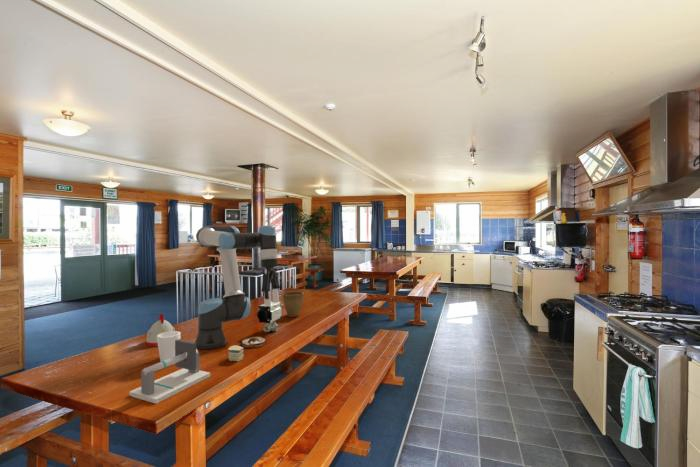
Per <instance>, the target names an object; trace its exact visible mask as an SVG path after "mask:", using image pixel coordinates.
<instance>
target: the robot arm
mask: <svg viewBox="0 0 700 467" xmlns="http://www.w3.org/2000/svg"><path fill="white" fill-rule="evenodd" d="M195 238H196V241H197V242H198V243H199V244H200V245H202V246H204V247H205V246H206V247H215V248H216V251H217V252H219V256H220V262H221V270H222V271H221V272H222V279H223V285H224V286H223V287H224V295H223V296H222V297H215V298H208V299H205V300H203V301H201V302H200V303H199V304H198V309H197V310H198V311H197V316H198V317H197V320H198V321H197V322H198V323H197V326H198V328H197V329H198V331H197V334H196V338H195V341H194V342H196V349H197V350H214V349H217V348H220V347H223V346H224V345H226V343H227V341H226V340H227V338H226V336H225V333H224V330H223V323H228V322H233V321H241V320H242V319H247V317H248V316H249V314H250V312H251V307H252V306H251V300H250V298H249V297H248V296H246V294H245V292H243V291H242V286H241V278H240V272H239V265H238V264H239V263H238V258H237V256H238V255H237V252H236V251H237V250H238V249H253V250H254V249H255V250H256V249H259V250H260V259H261V260H260V263H261V268H264V269H263V270H262V283H261V284H262V285H261V292H262V293H263V300H264V301H263V302H264V303H263V304H265V307H266V306H271V301H273V303H276V302H280V298H279V289H280V288H281V287H280V283H279V279H278V278H279V277H278V272H277V268H275V267H279V265H278V264H279V263H278V253H279V250H277V233H276V226H274V225H261V226H260V227H259V228H258V232H240V230H239V228H237V227H236V226H234V225H205V226H203V227H202V226H201V228H200V229H198V230H197V232H196V234H195ZM271 287H272V290H271V291H272V293H271V291H270V289H271ZM271 294H272V300H271Z"/></svg>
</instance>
